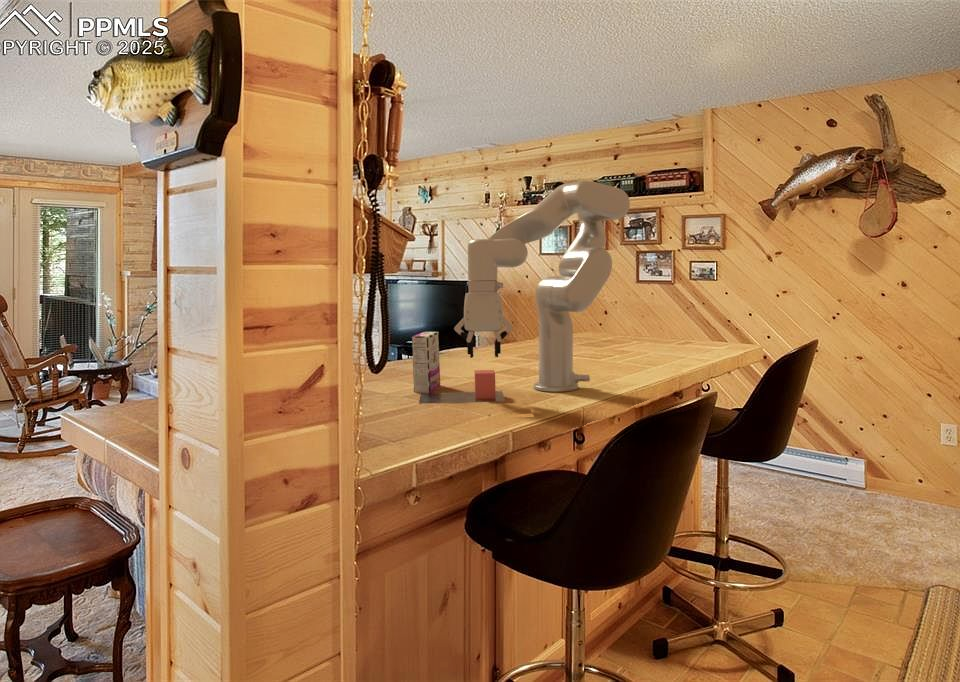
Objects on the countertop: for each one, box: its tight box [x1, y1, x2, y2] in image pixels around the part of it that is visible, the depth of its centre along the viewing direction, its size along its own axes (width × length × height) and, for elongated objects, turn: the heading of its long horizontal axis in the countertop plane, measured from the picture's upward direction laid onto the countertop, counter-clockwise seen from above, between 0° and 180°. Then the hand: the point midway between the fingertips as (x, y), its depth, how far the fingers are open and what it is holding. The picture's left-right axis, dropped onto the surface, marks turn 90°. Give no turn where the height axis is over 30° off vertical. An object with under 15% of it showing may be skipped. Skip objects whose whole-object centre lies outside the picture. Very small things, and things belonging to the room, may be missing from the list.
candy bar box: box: [411, 331, 441, 394], centre depth 183 cm, size 11×5×16 cm, turn 168°
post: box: [418, 390, 506, 405], centre depth 171 cm, size 22×13×6 cm, turn 93°
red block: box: [474, 369, 496, 399], centre depth 171 cm, size 5×5×7 cm
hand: (484, 356), depth 170 cm, fingers open, 5 cm apart
